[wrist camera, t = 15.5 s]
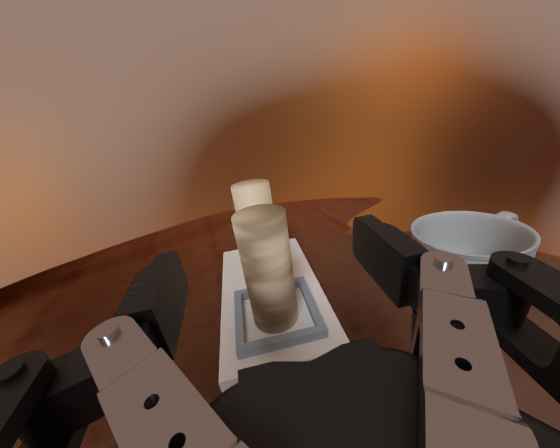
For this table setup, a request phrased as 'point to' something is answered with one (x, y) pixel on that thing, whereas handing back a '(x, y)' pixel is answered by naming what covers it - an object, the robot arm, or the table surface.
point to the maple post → (267, 266)
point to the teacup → (474, 234)
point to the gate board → (239, 318)
